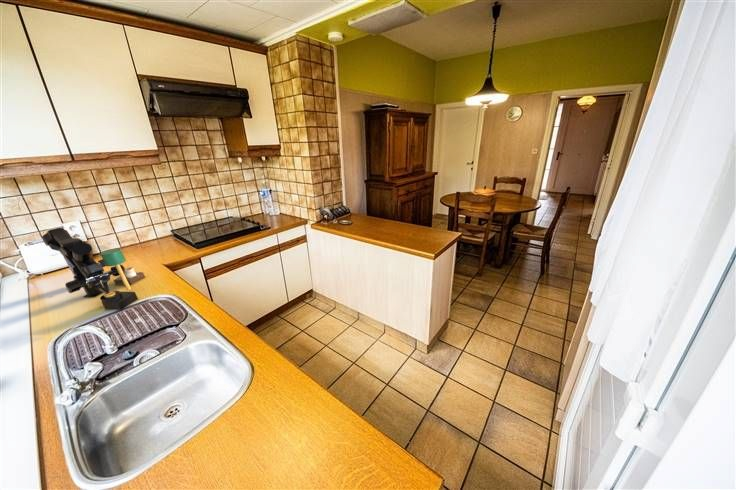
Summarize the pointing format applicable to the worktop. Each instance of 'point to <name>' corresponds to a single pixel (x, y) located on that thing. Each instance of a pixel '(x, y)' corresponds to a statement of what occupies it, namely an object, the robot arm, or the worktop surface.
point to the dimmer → (129, 272)
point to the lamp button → (109, 294)
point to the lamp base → (118, 300)
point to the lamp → (115, 262)
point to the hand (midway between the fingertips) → (108, 293)
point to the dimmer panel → (130, 279)
